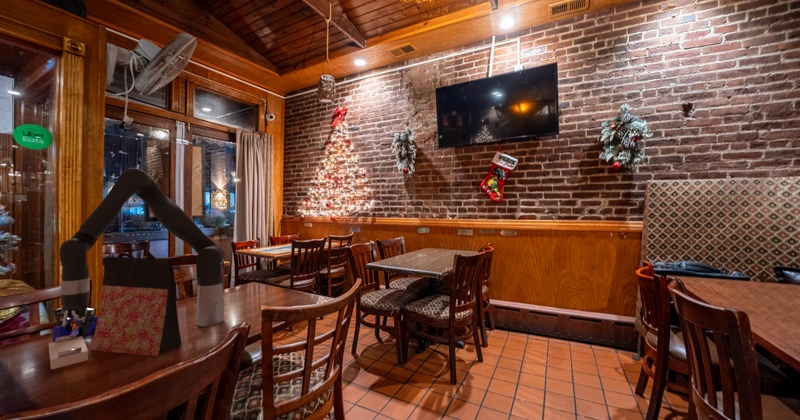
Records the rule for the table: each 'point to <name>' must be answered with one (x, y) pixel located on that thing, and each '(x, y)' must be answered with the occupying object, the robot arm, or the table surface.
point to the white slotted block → (67, 351)
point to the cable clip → (61, 331)
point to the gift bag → (137, 306)
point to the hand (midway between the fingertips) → (75, 335)
